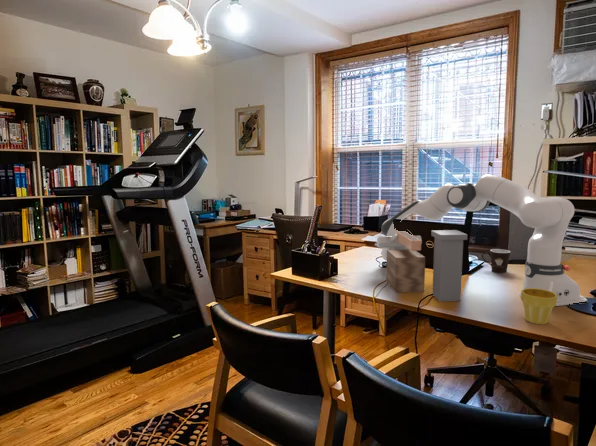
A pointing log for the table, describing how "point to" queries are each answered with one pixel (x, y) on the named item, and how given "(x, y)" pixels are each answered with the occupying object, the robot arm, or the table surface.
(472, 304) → the table surface
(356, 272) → the table surface
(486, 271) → the table surface
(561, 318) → the table surface
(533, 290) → the plant pot
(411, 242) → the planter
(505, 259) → the coffee mug
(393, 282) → the walnut block
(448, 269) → the pedestal shelf
